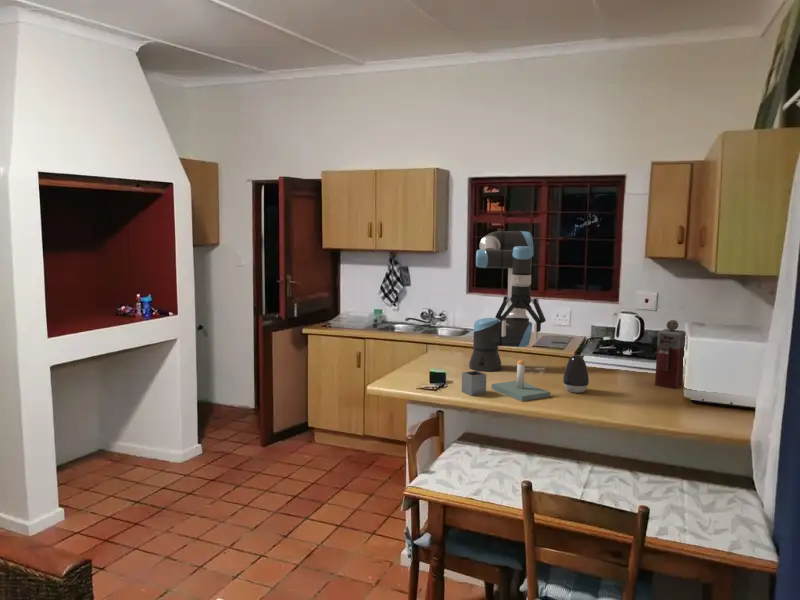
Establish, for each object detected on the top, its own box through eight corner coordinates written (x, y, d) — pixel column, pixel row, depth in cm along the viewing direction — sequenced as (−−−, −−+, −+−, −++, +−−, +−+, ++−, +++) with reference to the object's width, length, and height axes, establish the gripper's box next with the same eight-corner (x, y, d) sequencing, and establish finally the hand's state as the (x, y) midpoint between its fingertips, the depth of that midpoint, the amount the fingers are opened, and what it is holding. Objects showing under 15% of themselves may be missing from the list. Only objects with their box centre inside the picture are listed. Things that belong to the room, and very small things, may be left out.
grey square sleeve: (461, 391, 261) (462, 372, 260) (476, 389, 264) (476, 370, 263) (471, 396, 255) (471, 376, 254) (485, 393, 258) (486, 374, 257)
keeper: (491, 388, 266) (492, 356, 264) (518, 384, 272) (519, 353, 271) (521, 401, 248) (522, 367, 247) (550, 396, 255) (551, 363, 253)
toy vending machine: (653, 386, 272) (657, 321, 268) (660, 381, 281) (664, 317, 277) (675, 390, 266) (679, 323, 263) (682, 384, 275) (686, 320, 272)
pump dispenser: (593, 391, 264) (594, 354, 262) (580, 396, 256) (582, 358, 254) (570, 386, 270) (572, 351, 269) (557, 391, 263) (559, 354, 261)
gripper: (488, 284, 259) (487, 336, 262) (549, 288, 247) (546, 342, 250) (495, 282, 266) (494, 333, 269) (555, 286, 253) (552, 339, 256)
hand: (519, 337), depth 259 cm, fingers open, 13 cm apart
